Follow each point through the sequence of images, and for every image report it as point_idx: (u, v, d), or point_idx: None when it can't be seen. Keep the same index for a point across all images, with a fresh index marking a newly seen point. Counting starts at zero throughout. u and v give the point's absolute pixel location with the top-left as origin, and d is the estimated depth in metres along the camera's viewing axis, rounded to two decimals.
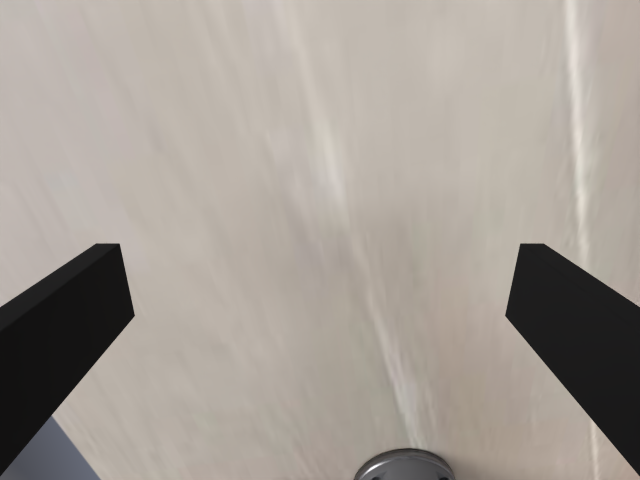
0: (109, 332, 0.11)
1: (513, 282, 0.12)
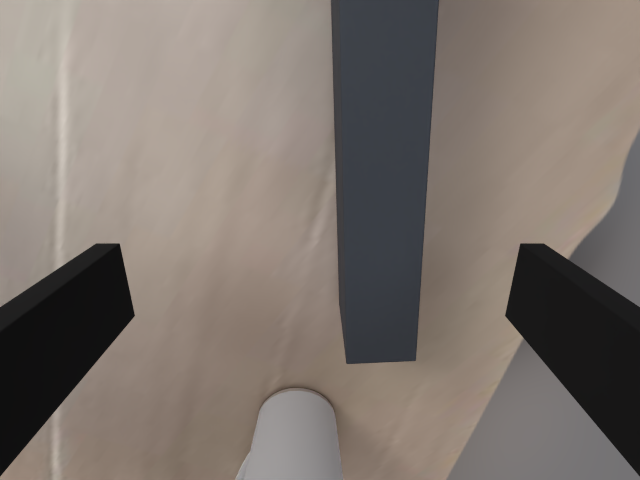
0: (110, 332, 0.11)
1: (513, 282, 0.12)
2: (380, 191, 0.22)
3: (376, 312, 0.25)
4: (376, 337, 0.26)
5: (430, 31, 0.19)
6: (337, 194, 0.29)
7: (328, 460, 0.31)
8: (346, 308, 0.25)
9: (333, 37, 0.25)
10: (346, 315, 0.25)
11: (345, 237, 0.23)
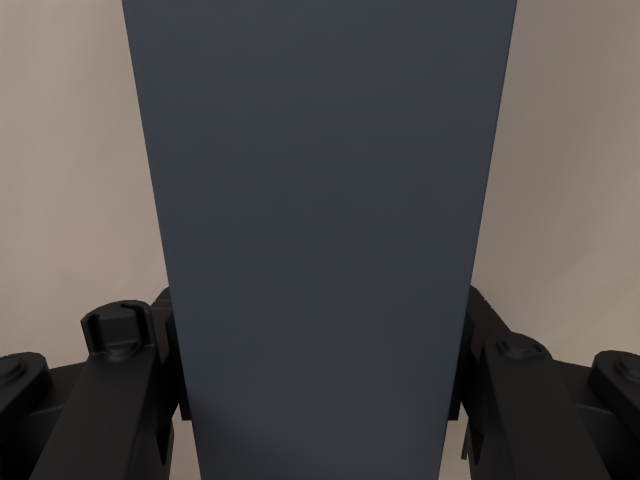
0: None
1: None
2: None
3: (299, 444, 0.07)
4: None
5: None
6: None
7: None
8: (195, 427, 0.07)
9: None
10: (198, 447, 0.07)
11: (153, 162, 0.05)
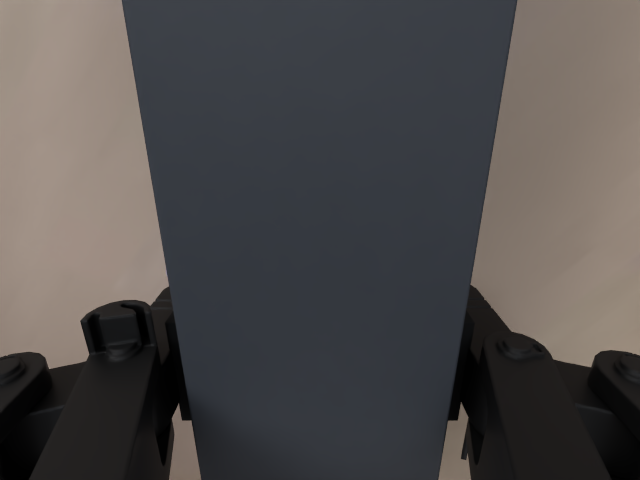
0: None
1: None
2: None
3: (299, 444, 0.07)
4: None
5: None
6: None
7: None
8: (195, 427, 0.07)
9: None
10: (198, 447, 0.07)
11: (153, 162, 0.05)
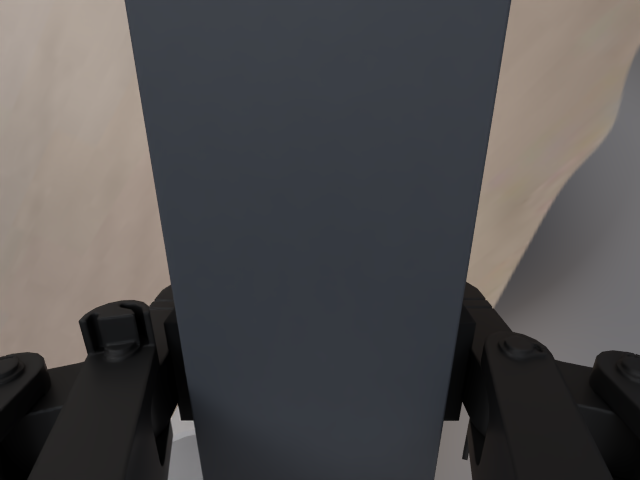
0: None
1: None
2: None
3: (297, 439, 0.08)
4: None
5: None
6: None
7: None
8: (196, 421, 0.07)
9: None
10: (199, 441, 0.08)
11: (155, 161, 0.06)
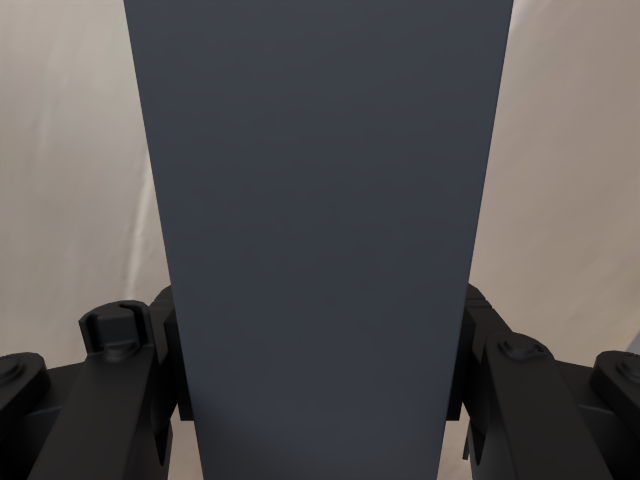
0: None
1: None
2: None
3: (299, 441, 0.08)
4: None
5: None
6: None
7: None
8: (197, 423, 0.07)
9: None
10: (200, 443, 0.08)
11: (155, 163, 0.06)
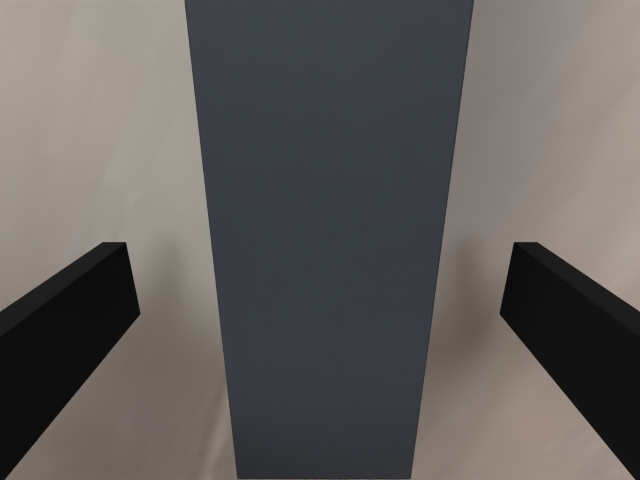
0: (116, 330, 0.11)
1: (507, 280, 0.12)
2: None
3: (308, 360, 0.09)
4: (310, 422, 0.10)
5: None
6: None
7: None
8: (225, 345, 0.09)
9: None
10: (226, 363, 0.09)
11: (201, 122, 0.07)
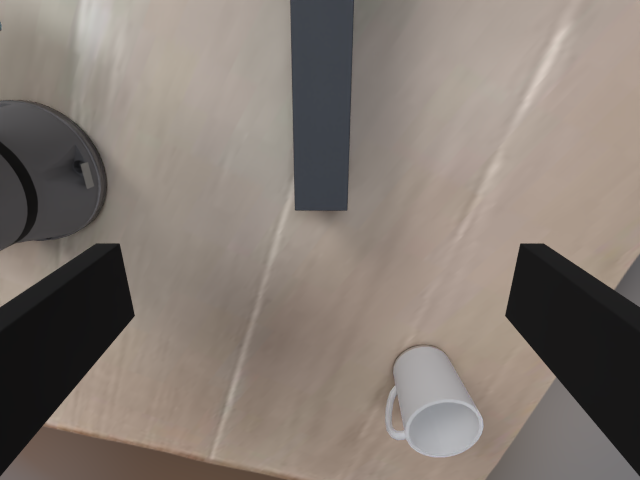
0: (109, 332, 0.11)
1: (513, 282, 0.12)
2: (318, 64, 0.31)
3: (316, 166, 0.34)
4: (317, 187, 0.35)
5: None
6: None
7: (465, 390, 0.44)
8: (294, 161, 0.34)
9: None
10: (294, 167, 0.34)
11: (293, 101, 0.32)
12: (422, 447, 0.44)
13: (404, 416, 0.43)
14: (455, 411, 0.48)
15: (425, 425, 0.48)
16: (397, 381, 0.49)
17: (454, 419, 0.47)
